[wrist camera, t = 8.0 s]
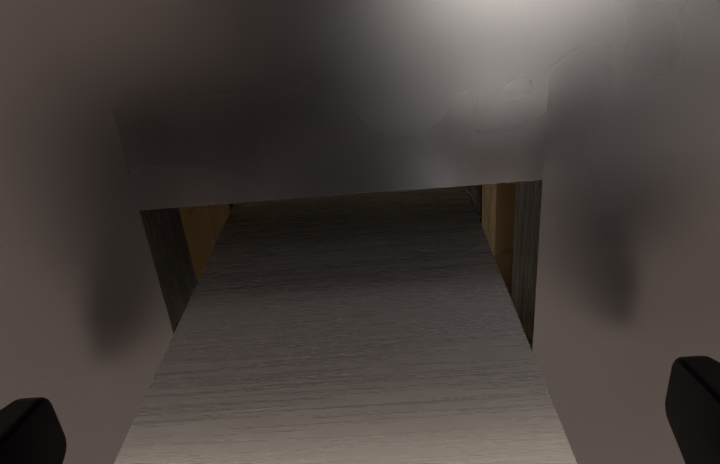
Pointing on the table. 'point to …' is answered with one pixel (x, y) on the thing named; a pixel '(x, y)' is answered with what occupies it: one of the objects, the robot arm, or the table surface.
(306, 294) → the tall square pillar
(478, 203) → the table surface
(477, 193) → the table surface
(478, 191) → the table surface
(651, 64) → the slotted bridge-shaped block
